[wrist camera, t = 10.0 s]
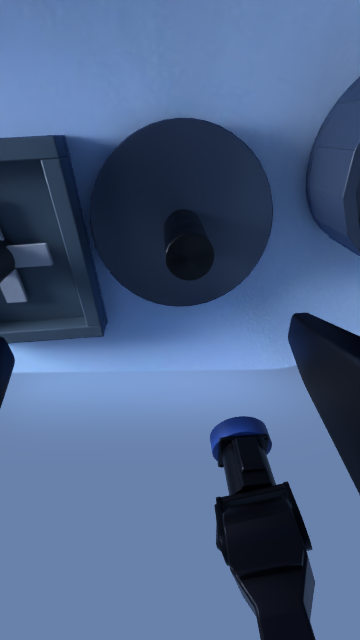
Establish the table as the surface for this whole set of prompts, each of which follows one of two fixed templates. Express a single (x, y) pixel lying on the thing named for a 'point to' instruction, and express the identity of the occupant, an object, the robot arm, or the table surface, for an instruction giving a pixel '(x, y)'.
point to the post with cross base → (19, 266)
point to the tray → (61, 237)
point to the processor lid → (181, 212)
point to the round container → (337, 172)
